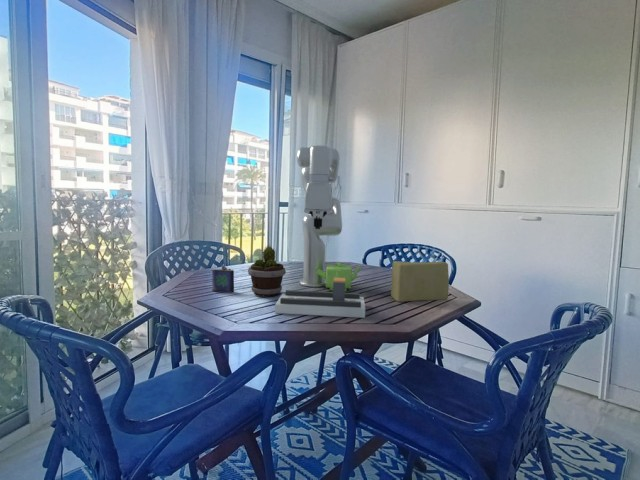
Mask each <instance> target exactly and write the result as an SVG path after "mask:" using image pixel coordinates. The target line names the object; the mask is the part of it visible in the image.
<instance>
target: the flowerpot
mask: <svg viewBox="0 0 640 480" xmlns="http://www.w3.org/2000/svg"><path fill="white" fill-rule="evenodd" d="M272 245H273V244H270V245H265V247H264V249H263V251H262V256H261V258H260V257H258V258H256V259H255V262H254V263H252V264H251V265H250V267H249V268H247V274H248V275H249V276H250V280H251V284H252V285H251V286H250V287H251V291H252V292H253V294H254V295H255V296H258V297H266V298H267V297H270V296H271V297H275V296H278V295H280V293H281V292H282V290H283V287H282V282H283V277H284V276H285V275H286V274H287V271H286V268H285V267H284V265H283V263H280V262H279V263H277V261H278V260H277V259H276V256H277V253H276V252H277V250H275V248H273V246H272Z"/></svg>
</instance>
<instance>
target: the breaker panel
mask: <svg viewBox="0 0 640 480" xmlns="http://www.w3.org/2000/svg"><path fill="white" fill-rule="evenodd" d="M360 295H361V294H360V293H358V292H357V293H356V292H355V293H354V292H345V300H344V301H338V300H333V291H318V290H317V291H315V290H314V291H313V290H312V291H311V290H297V289H296V290H295V289H293V290H291V289H286V290H285V292H283V293H281V295H280V296H279V298H278V300H277V301H276V303H275V304H274V314H286V315H306V316H307V315H309V316H322V317H323V316H327V317H342V318H361V319H363V318H366V303H365V297H364V296H360Z"/></svg>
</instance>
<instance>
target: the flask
mask: <svg viewBox="0 0 640 480" xmlns="http://www.w3.org/2000/svg"><path fill="white" fill-rule="evenodd" d="M225 266H226V264H222V265H221V266H220V267H221V268H212V269H211V285H212V286H211V290H212V292H218V291H220V292H219V293H222V292H223V293H234V292H235V277H234V276H235V271H234V269H232V268H228V267H225Z"/></svg>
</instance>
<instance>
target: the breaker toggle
mask: <svg viewBox="0 0 640 480" xmlns="http://www.w3.org/2000/svg"><path fill="white" fill-rule="evenodd" d="M332 292H333V300H338V301H344V300H345V293H346V291H345V278H334V280H333V291H332Z"/></svg>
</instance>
